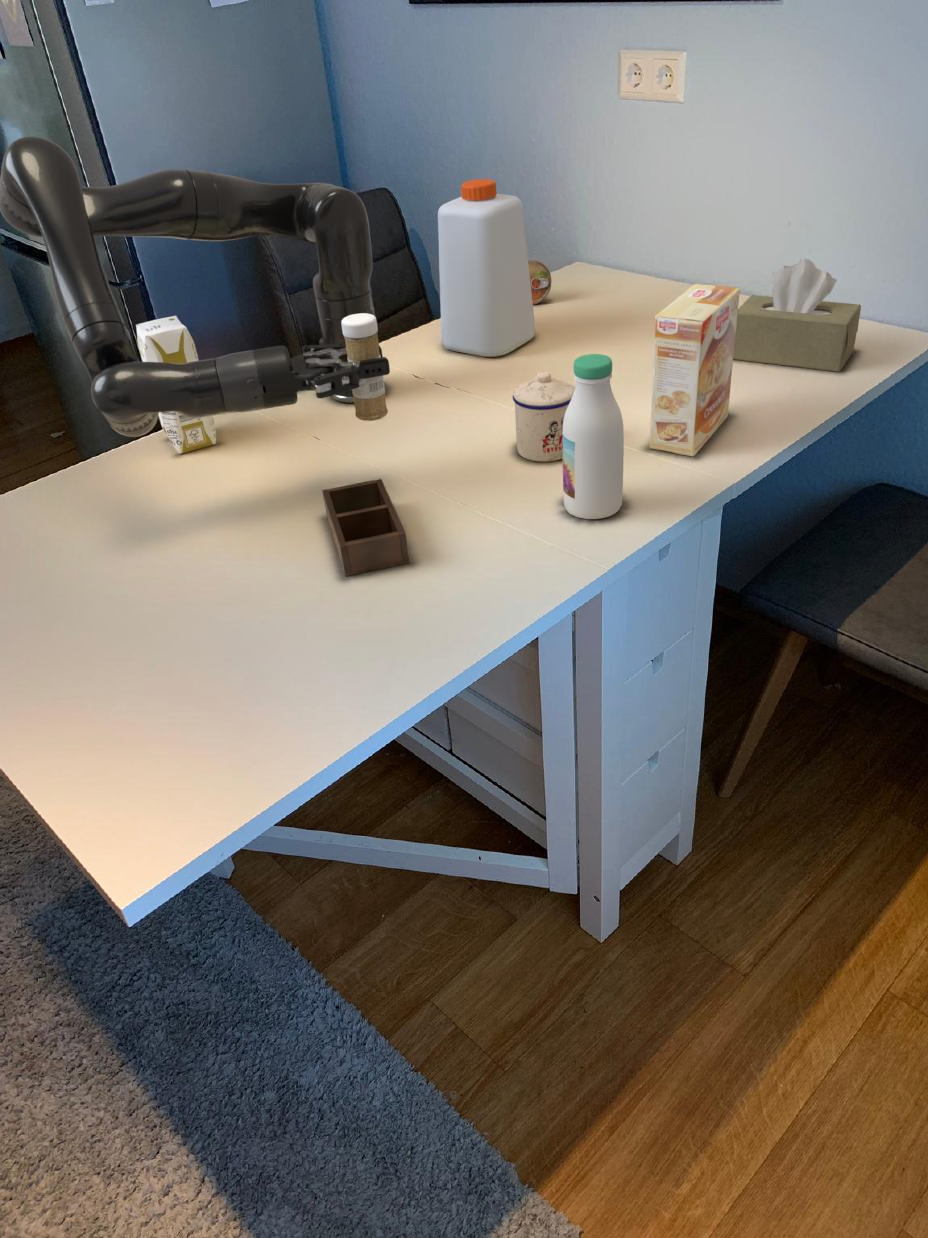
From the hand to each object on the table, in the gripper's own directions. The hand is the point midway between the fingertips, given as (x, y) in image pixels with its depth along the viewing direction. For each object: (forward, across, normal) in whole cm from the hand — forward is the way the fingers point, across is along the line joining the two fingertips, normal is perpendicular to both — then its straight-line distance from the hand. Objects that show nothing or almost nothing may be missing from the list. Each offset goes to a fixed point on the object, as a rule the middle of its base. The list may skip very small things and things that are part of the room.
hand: (384, 359), depth 124 cm
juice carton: (-29, -26, -18) cm, 43 cm away
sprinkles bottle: (-3, 0, -8) cm, 8 cm away
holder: (-7, +15, -18) cm, 24 cm away
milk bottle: (+22, +18, -18) cm, 34 cm away
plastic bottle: (+27, -48, -18) cm, 58 cm away
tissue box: (+72, -17, -17) cm, 76 cm away
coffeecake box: (+44, +3, -17) cm, 47 cm away
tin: (+39, -67, -17) cm, 80 cm away
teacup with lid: (+24, -1, -18) cm, 29 cm away
